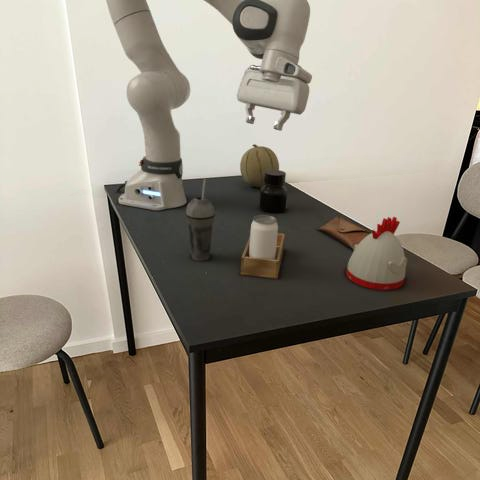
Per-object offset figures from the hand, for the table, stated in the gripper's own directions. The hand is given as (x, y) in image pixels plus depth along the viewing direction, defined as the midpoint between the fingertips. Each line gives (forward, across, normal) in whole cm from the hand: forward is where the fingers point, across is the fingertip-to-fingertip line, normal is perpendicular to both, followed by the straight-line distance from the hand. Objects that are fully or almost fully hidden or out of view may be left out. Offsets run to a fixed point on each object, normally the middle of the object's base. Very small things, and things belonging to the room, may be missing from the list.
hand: (263, 126), depth 119 cm
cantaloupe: (+18, -29, +44) cm, 55 cm away
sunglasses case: (+23, +21, +24) cm, 39 cm away
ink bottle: (+22, -9, +28) cm, 37 cm away
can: (+32, +17, -8) cm, 37 cm away
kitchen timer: (+27, +39, +9) cm, 48 cm away
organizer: (+32, +15, -4) cm, 35 cm away
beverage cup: (+35, +2, -14) cm, 38 cm away
